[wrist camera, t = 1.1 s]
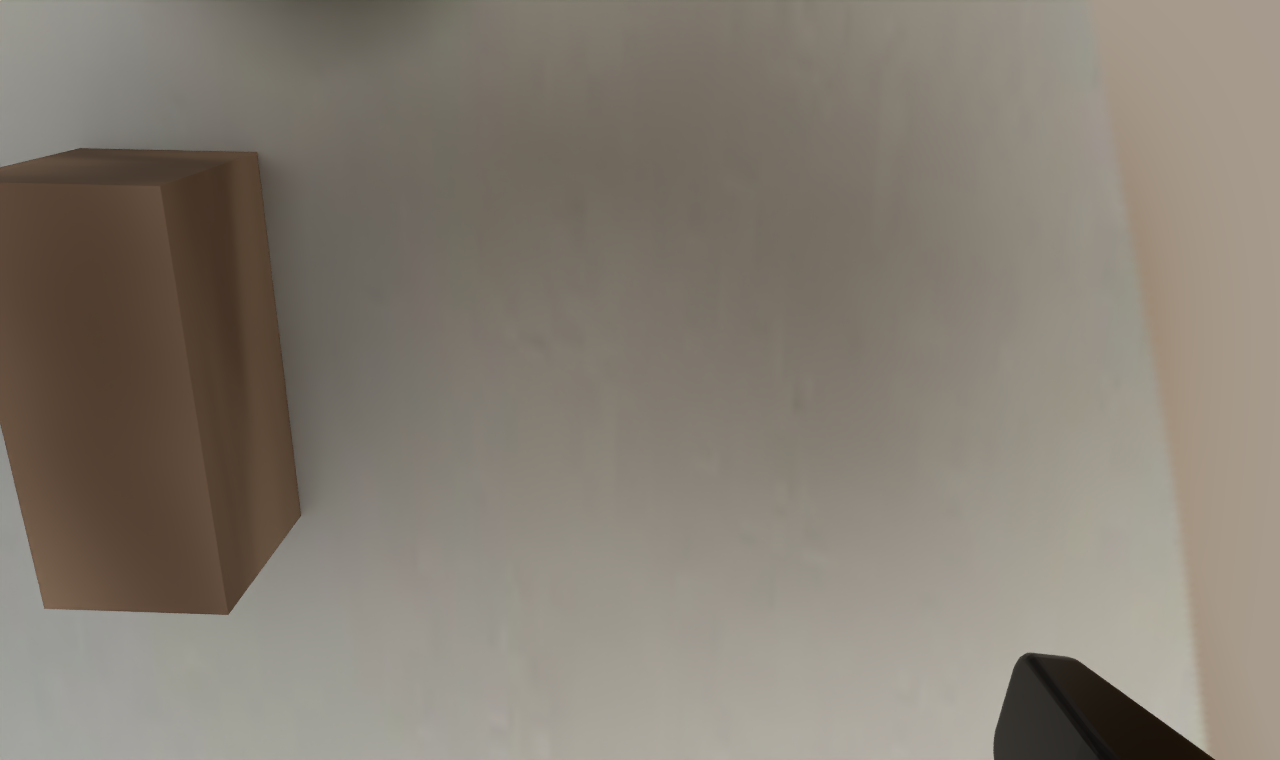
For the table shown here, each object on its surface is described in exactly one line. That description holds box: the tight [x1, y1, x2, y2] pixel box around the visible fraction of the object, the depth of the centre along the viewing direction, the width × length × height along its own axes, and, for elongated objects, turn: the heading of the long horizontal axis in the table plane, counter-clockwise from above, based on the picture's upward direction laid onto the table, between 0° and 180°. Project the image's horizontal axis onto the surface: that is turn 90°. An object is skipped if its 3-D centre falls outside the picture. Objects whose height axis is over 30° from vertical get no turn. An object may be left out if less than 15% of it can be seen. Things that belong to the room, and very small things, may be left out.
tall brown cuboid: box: [0, 148, 301, 615], centre depth 19 cm, size 4×8×4 cm, turn 179°
